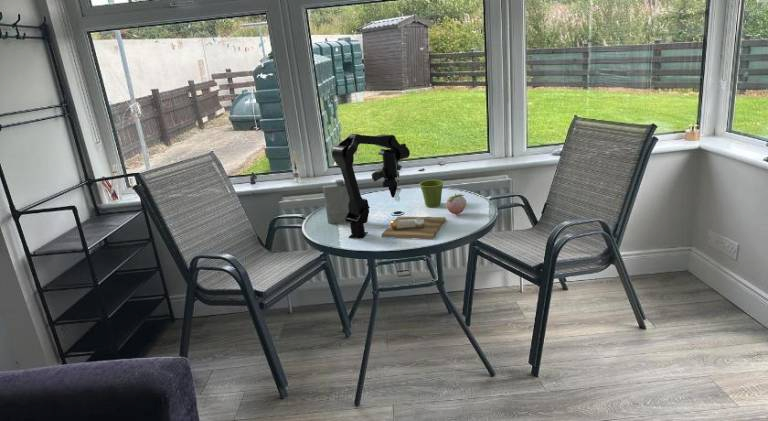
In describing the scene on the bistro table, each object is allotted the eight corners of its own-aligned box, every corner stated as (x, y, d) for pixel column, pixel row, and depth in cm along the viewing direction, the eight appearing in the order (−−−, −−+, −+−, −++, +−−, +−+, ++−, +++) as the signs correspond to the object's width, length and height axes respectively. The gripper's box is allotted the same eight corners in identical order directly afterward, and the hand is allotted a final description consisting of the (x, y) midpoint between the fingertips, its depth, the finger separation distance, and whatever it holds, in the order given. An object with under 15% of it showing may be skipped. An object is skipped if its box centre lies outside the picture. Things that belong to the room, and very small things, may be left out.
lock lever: (424, 224, 215) (424, 217, 214) (424, 227, 211) (423, 220, 211) (391, 226, 217) (391, 219, 216) (391, 229, 213) (390, 222, 212)
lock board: (433, 239, 203) (432, 235, 203) (381, 237, 211) (381, 233, 211) (445, 220, 223) (445, 217, 222) (398, 219, 231) (397, 216, 230)
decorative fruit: (455, 210, 235) (454, 189, 232) (469, 213, 229) (468, 191, 226) (442, 216, 229) (441, 195, 226) (456, 219, 223) (455, 197, 220)
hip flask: (327, 223, 236) (321, 182, 229) (329, 220, 239) (323, 179, 233) (360, 222, 232) (355, 180, 226) (362, 219, 236) (357, 178, 230)
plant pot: (419, 209, 242) (417, 186, 238) (423, 202, 252) (421, 180, 249) (443, 209, 238) (442, 186, 235) (447, 201, 249) (445, 179, 246)
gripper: (373, 160, 232) (377, 192, 236) (369, 169, 214) (373, 204, 219) (397, 158, 231) (401, 190, 235) (395, 167, 213) (398, 202, 218)
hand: (393, 197), depth 227 cm, fingers closed
